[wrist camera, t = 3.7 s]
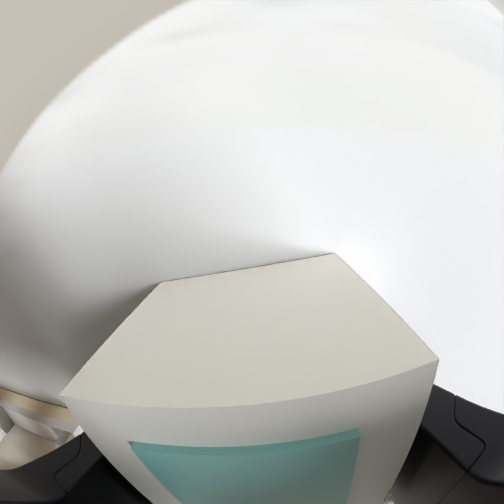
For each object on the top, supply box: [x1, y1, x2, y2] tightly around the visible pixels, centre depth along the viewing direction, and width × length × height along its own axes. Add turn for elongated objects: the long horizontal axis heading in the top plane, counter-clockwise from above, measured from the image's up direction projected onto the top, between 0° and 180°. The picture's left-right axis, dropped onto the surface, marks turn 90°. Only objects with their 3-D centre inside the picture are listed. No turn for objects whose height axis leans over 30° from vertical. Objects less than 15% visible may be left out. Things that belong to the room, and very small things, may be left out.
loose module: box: [59, 253, 439, 504], centre depth 6 cm, size 5×6×5 cm
